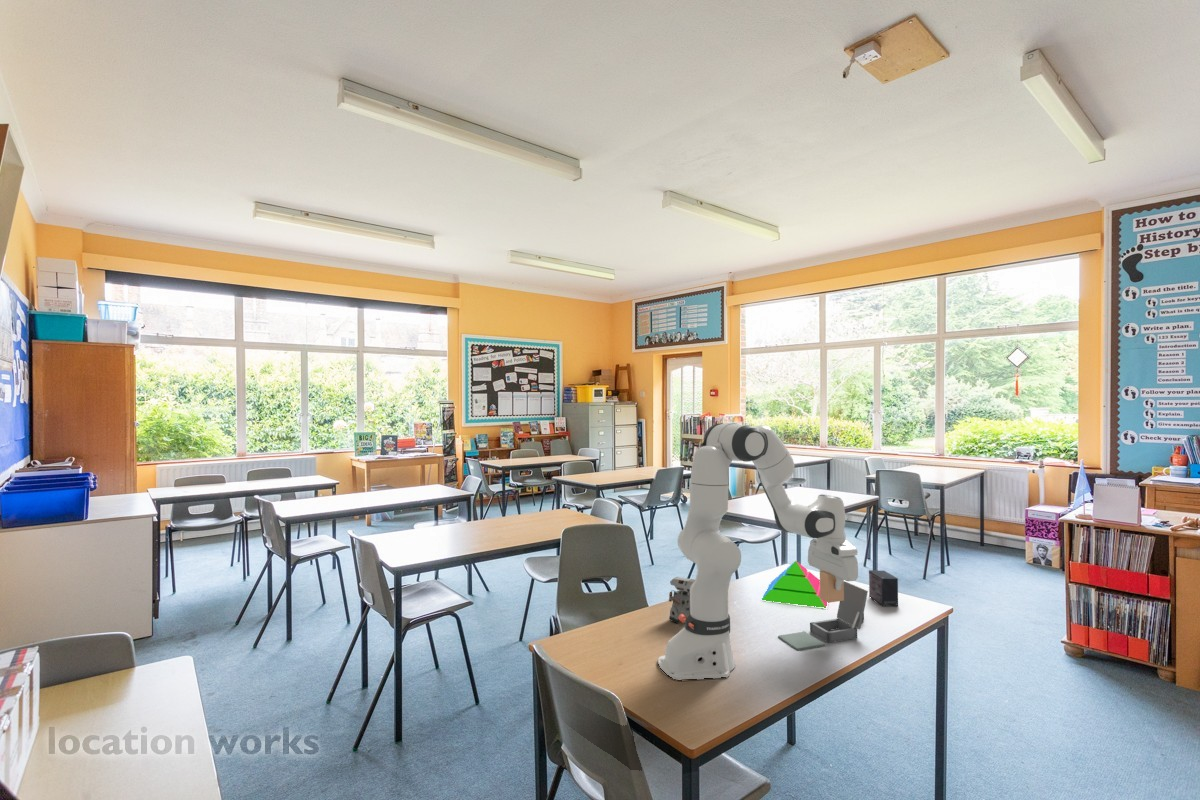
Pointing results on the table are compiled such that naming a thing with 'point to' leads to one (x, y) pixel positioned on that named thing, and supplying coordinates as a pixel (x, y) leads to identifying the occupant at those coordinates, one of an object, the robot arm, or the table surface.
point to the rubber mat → (801, 640)
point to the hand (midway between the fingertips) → (831, 586)
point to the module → (830, 588)
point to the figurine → (680, 598)
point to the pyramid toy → (795, 587)
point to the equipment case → (843, 616)
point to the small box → (883, 588)
